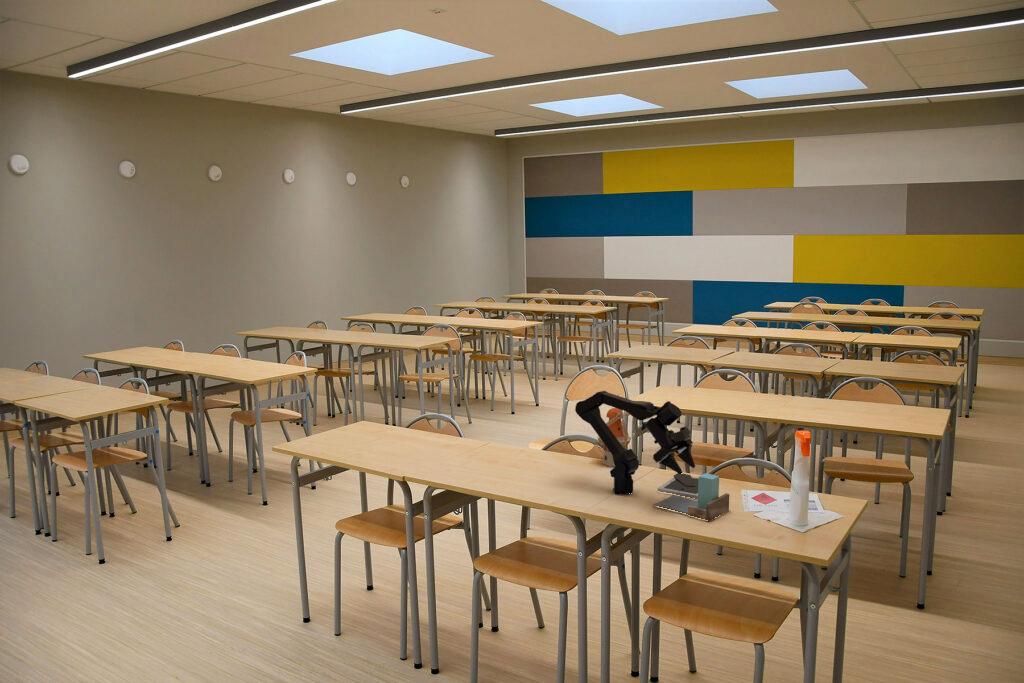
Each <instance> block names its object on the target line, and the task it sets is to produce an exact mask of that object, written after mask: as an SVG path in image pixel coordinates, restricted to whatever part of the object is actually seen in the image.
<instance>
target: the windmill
mask: <svg viewBox="0 0 1024 683" xmlns="http://www.w3.org/2000/svg"><path fill="white" fill-rule="evenodd" d="M617 396H620V395H619V394H617ZM629 416H631V415H630V414H629V413H628V412H625V413H624V410H621V409H618V408H615V407H611V408H610V409H608V411H607V412H606V418H608V421H607V422H605V423H606V424H607V426H608V427H609V429H610V430H611V431H612V433H613V434H614V436H615V437H616V438H617V440H618V441H619V442H620V444H621V445H622V447H623V448H625V449H626V447H627V446H629V444H630V442H631V440H632V437H631V436H629V433H628V429H627V427H626V426H627V425H626V423H625V419H624V417H627V418H628V417H629ZM597 440H598V443H599V444H601V445H602V447H603V458H602V460H603V461H602V465H603V466H605V467H609V468H614V467H615V465H614V462H613V456H612V454H611V452H610V451H609V450H608V448H607V447H606V446H605V444H604V443H603V441H602V440H601V439H600V437H599V436H598V437H597Z"/></svg>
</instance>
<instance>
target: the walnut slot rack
mask: <svg viewBox="0 0 1024 683" xmlns="http://www.w3.org/2000/svg"><path fill="white" fill-rule="evenodd" d="M727 511H728V512H729V511H730V493H728V492H727V493H724V494H722V495H720V496H719V497H718V498H716V499H714V500H712V501H711V502H709V503H707V504H706V510H705V509H701V508H697V507H693V506H688V515H690V516H694V517H697V518H701V519H705V520H708V521H710V520H712V519H714V518H715V517H717V518H719V517H720V516H719V515H721V516H723V515H724V514H726V513H728V512H727ZM725 512H726V513H725ZM723 513H724V514H723ZM722 514H723V515H722ZM718 516H719V517H718ZM714 520H715V519H714ZM712 521H713V520H712ZM710 522H711V521H710Z"/></svg>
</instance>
